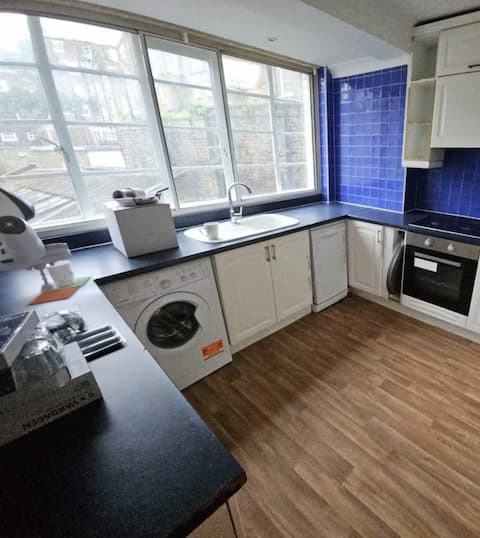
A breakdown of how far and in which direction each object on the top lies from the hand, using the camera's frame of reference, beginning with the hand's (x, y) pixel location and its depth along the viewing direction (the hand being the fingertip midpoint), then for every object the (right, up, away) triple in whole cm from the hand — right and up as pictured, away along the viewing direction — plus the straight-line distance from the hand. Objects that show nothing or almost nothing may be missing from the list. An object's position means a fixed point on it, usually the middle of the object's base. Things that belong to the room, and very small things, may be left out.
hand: (41, 266), depth 118 cm
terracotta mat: (+1, -12, +5) cm, 13 cm away
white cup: (-4, -8, +15) cm, 17 cm away
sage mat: (-4, -8, +15) cm, 17 cm away
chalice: (0, -9, +3) cm, 10 cm away
